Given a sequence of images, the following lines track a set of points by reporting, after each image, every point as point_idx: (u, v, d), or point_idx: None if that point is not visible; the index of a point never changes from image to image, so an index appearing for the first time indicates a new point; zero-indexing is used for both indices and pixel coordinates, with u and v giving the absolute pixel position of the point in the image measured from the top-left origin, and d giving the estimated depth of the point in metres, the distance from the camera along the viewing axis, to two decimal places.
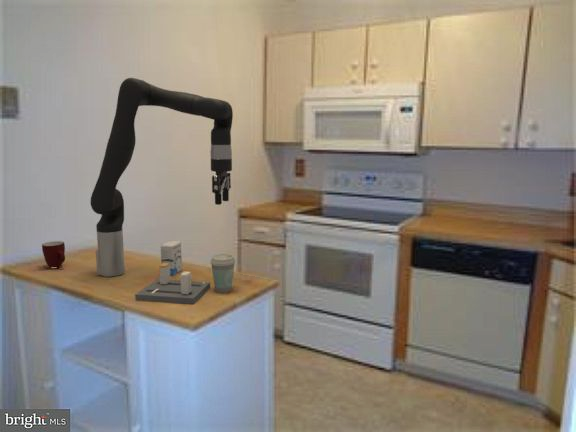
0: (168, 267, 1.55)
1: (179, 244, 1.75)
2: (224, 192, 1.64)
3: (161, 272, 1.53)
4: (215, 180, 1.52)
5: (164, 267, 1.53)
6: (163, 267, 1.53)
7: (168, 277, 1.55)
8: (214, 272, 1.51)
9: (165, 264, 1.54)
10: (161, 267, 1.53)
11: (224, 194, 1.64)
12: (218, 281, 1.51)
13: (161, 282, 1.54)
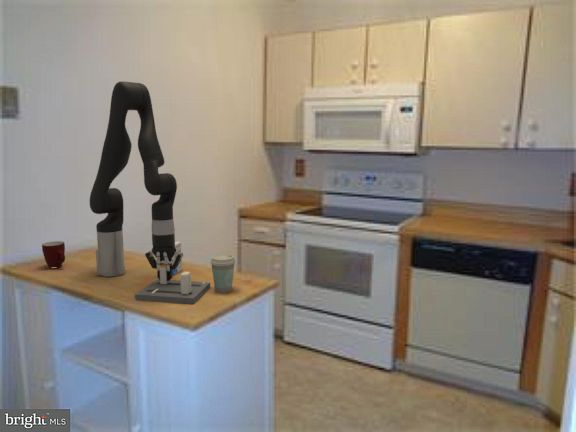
0: None
1: (179, 244, 1.75)
2: None
3: (161, 272, 1.53)
4: (180, 258, 1.53)
5: (164, 267, 1.53)
6: (163, 267, 1.53)
7: None
8: (214, 272, 1.51)
9: (165, 264, 1.54)
10: (161, 267, 1.53)
11: None
12: (218, 281, 1.51)
13: (161, 282, 1.54)
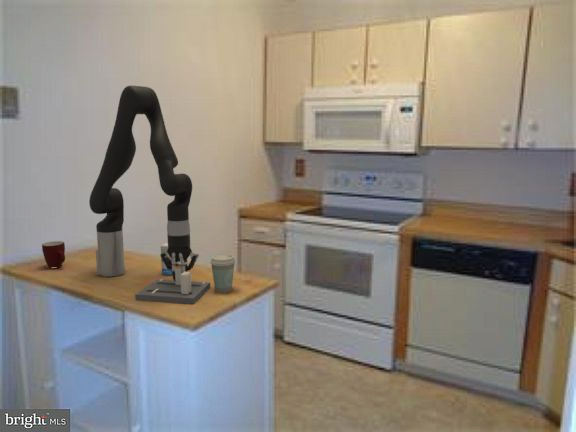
0: None
1: None
2: None
3: (176, 273, 1.52)
4: (195, 259, 1.52)
5: (179, 268, 1.52)
6: (178, 268, 1.52)
7: None
8: (214, 272, 1.51)
9: (180, 265, 1.53)
10: (176, 268, 1.52)
11: None
12: (218, 281, 1.51)
13: (176, 283, 1.53)
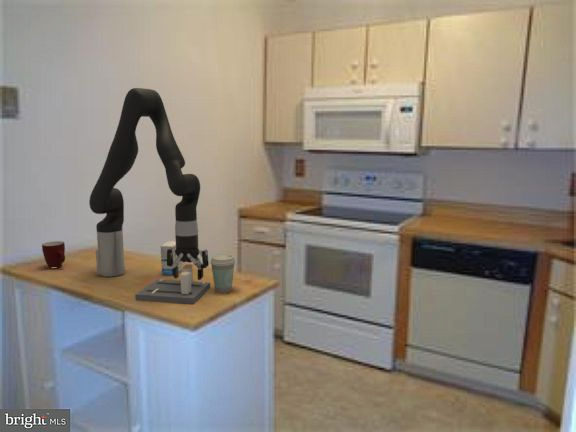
0: (191, 268, 1.53)
1: None
2: (176, 269, 1.53)
3: None
4: (206, 254, 1.51)
5: (187, 268, 1.51)
6: (186, 268, 1.51)
7: (191, 278, 1.54)
8: (214, 272, 1.51)
9: (188, 265, 1.53)
10: (184, 268, 1.51)
11: (176, 271, 1.54)
12: (218, 281, 1.51)
13: None
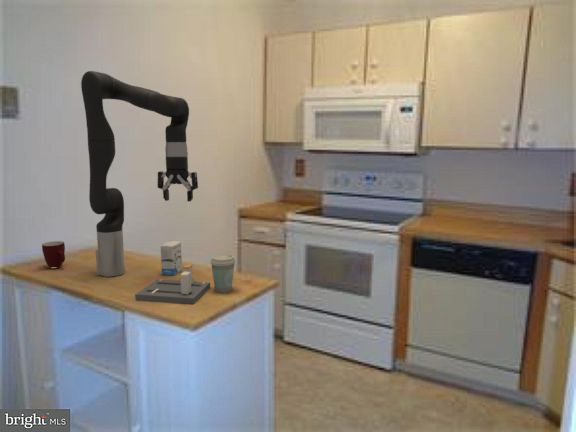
0: (191, 268, 1.53)
1: (179, 244, 1.75)
2: (167, 191, 1.59)
3: None
4: (195, 176, 1.56)
5: (187, 268, 1.51)
6: (186, 268, 1.51)
7: (191, 278, 1.54)
8: (214, 272, 1.51)
9: (188, 265, 1.53)
10: (184, 268, 1.51)
11: (167, 193, 1.59)
12: (218, 281, 1.51)
13: None
